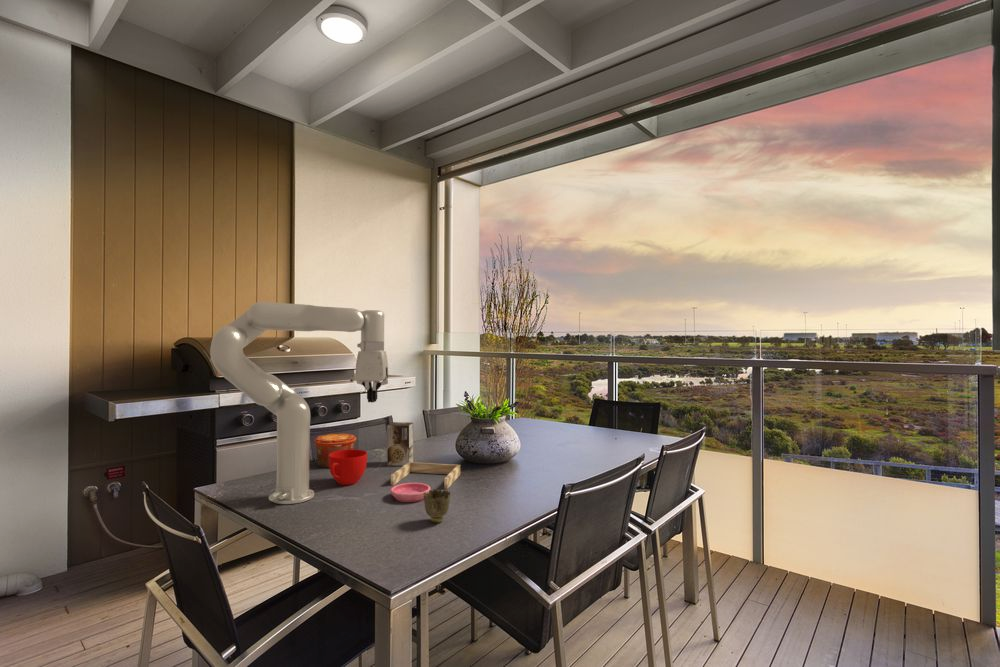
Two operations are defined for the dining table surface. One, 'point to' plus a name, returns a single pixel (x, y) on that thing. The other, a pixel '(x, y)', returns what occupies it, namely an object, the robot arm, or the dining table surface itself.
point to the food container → (332, 446)
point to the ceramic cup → (347, 465)
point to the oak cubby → (428, 471)
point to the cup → (436, 504)
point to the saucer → (410, 492)
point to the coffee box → (399, 443)
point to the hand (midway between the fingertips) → (372, 401)
